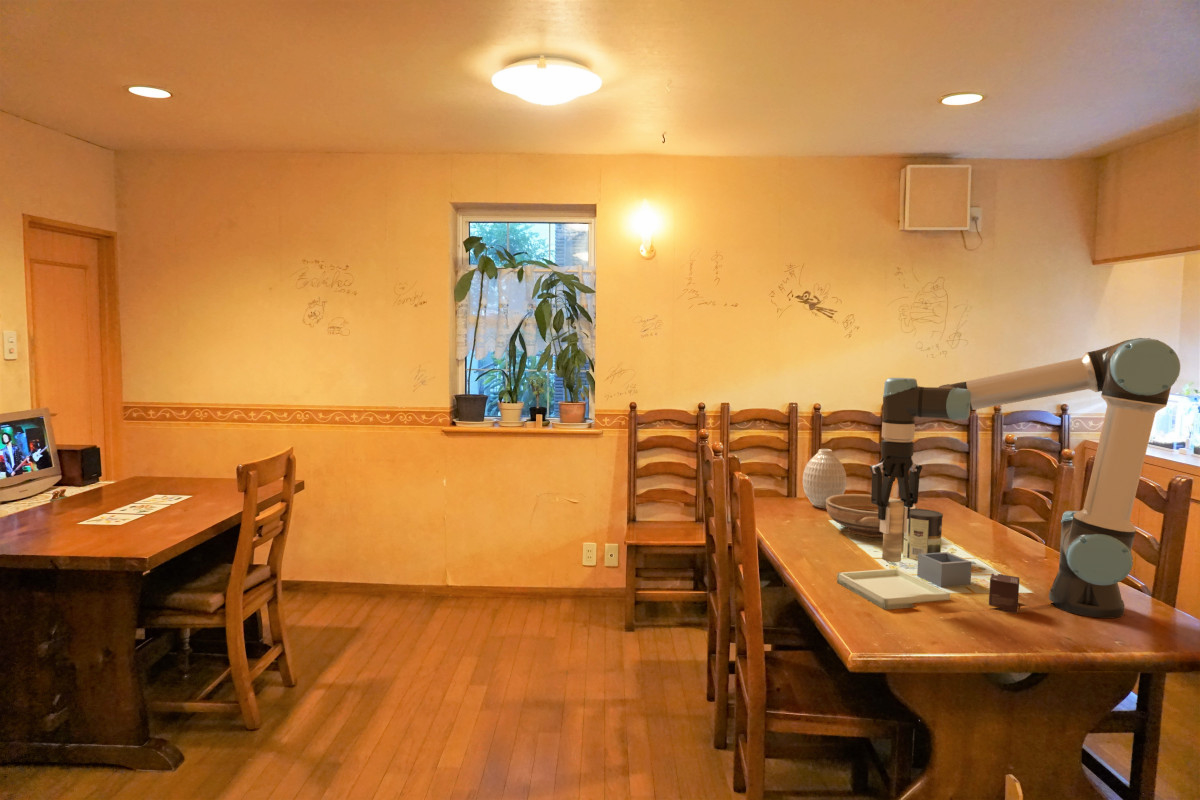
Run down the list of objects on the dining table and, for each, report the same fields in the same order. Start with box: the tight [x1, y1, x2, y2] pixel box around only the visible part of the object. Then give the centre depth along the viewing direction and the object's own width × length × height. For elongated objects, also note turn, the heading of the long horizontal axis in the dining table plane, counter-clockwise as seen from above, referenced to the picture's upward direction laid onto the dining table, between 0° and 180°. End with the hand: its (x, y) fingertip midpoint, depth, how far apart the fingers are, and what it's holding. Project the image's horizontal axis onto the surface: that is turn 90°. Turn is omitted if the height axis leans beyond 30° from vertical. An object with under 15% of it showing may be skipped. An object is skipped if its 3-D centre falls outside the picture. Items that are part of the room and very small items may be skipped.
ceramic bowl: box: [825, 493, 918, 538], centre depth 242 cm, size 37×29×10 cm
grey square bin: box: [916, 551, 973, 588], centre depth 190 cm, size 9×9×7 cm
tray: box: [836, 567, 951, 611], centre depth 183 cm, size 20×18×3 cm
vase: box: [802, 448, 847, 509], centre depth 280 cm, size 16×16×22 cm
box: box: [988, 573, 1020, 614], centre depth 173 cm, size 6×6×7 cm
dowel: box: [881, 498, 904, 563], centre depth 182 cm, size 4×4×15 cm
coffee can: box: [902, 508, 944, 562], centre depth 211 cm, size 10×10×14 cm
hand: (892, 531), depth 182 cm, fingers closed on dowel, 4 cm apart
